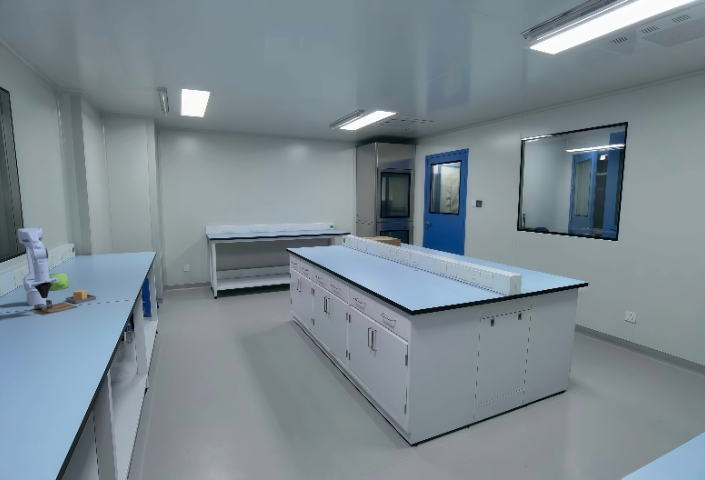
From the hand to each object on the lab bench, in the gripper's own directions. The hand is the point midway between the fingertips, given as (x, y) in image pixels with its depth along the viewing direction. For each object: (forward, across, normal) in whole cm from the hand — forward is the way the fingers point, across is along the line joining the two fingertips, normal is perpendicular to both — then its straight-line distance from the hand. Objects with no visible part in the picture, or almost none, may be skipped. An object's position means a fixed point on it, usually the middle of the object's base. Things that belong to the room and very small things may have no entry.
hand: (44, 297), depth 187 cm
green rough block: (+10, +45, +50) cm, 68 cm away
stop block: (+9, +23, +4) cm, 25 cm away
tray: (+9, +23, +4) cm, 26 cm away
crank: (+8, +4, +6) cm, 11 cm away
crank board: (+10, +8, +5) cm, 13 cm away
